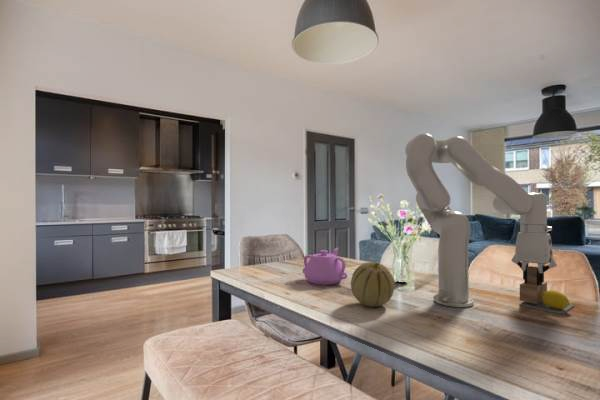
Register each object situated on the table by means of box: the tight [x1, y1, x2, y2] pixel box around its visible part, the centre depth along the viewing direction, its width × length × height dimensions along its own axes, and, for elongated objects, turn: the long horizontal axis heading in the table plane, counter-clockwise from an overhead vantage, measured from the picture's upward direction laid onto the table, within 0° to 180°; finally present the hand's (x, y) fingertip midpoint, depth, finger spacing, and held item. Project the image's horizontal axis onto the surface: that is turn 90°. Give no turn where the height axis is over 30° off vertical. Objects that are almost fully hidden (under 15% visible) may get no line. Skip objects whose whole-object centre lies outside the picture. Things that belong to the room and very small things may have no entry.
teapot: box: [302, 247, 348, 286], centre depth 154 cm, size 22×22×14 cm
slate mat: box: [518, 301, 574, 315], centre depth 116 cm, size 12×12×1 cm
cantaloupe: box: [350, 261, 395, 308], centre depth 118 cm, size 15×15×15 cm
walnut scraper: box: [519, 265, 548, 304], centre depth 118 cm, size 10×5×11 cm, turn 129°
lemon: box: [540, 290, 571, 309], centre depth 112 cm, size 6×6×8 cm
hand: (533, 282), depth 118 cm, fingers closed on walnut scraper, 3 cm apart
